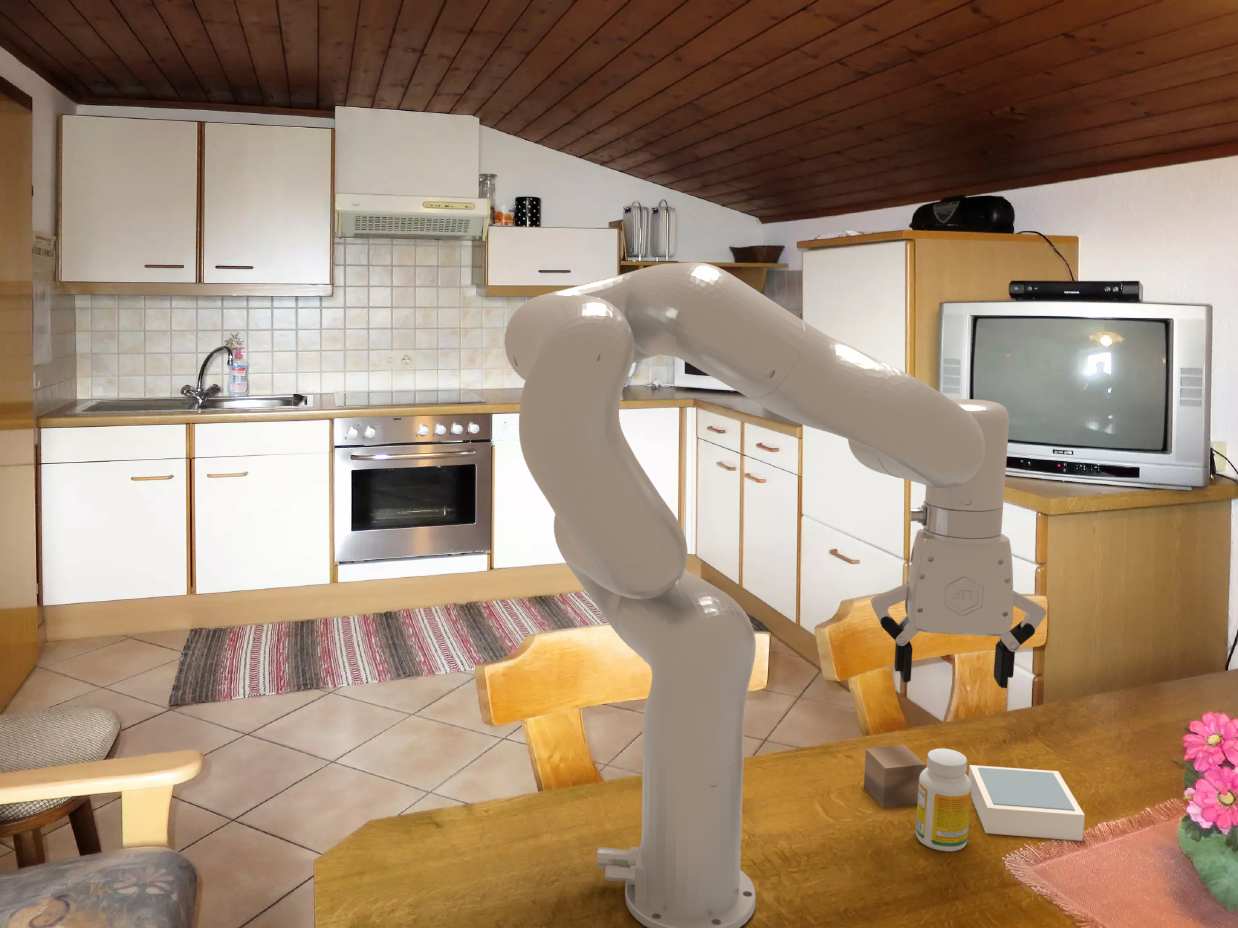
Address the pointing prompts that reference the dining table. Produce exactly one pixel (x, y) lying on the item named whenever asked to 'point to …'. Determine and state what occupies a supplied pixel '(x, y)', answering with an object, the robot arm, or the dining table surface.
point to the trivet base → (1025, 803)
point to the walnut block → (893, 775)
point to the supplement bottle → (944, 801)
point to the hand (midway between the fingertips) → (952, 680)
